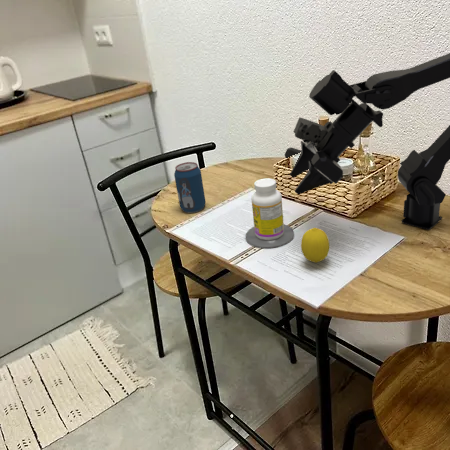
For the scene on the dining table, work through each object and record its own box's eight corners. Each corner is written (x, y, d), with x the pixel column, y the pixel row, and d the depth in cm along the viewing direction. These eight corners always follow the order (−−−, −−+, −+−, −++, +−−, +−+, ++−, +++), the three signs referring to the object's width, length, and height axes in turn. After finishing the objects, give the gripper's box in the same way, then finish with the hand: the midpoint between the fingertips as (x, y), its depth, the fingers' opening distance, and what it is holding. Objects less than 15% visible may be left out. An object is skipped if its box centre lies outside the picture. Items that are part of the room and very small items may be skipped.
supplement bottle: (256, 227, 111) (251, 177, 105) (284, 226, 110) (281, 175, 104) (253, 242, 105) (248, 189, 99) (283, 241, 104) (280, 187, 98)
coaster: (303, 232, 107) (303, 230, 107) (272, 253, 101) (272, 251, 100) (267, 220, 114) (267, 218, 114) (235, 239, 108) (235, 237, 108)
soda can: (202, 200, 130) (195, 159, 124) (209, 210, 124) (203, 167, 118) (177, 206, 128) (170, 165, 122) (184, 216, 122) (176, 173, 117)
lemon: (323, 272, 92) (322, 237, 89) (297, 266, 95) (295, 232, 92) (333, 258, 96) (333, 223, 93) (308, 253, 99) (307, 219, 96)
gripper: (310, 93, 102) (262, 147, 108) (325, 116, 85) (268, 178, 91) (346, 125, 105) (299, 176, 111) (368, 153, 88) (310, 211, 94)
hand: (293, 184), depth 102 cm, fingers open, 9 cm apart
